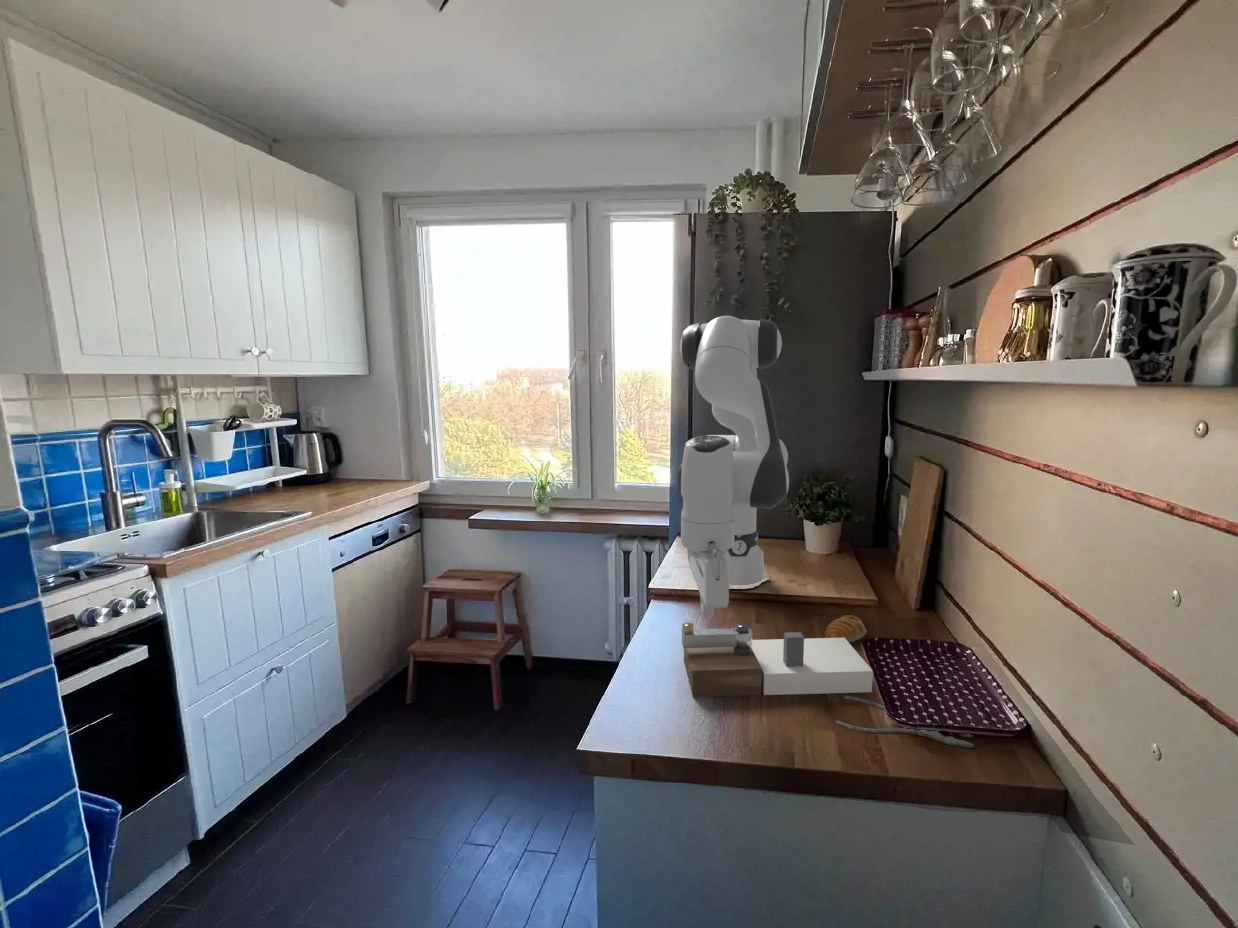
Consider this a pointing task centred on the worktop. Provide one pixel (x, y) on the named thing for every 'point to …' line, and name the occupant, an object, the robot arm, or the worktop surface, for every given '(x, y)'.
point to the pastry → (846, 628)
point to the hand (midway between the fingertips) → (707, 613)
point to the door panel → (811, 666)
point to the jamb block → (722, 671)
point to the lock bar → (716, 637)
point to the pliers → (929, 734)
